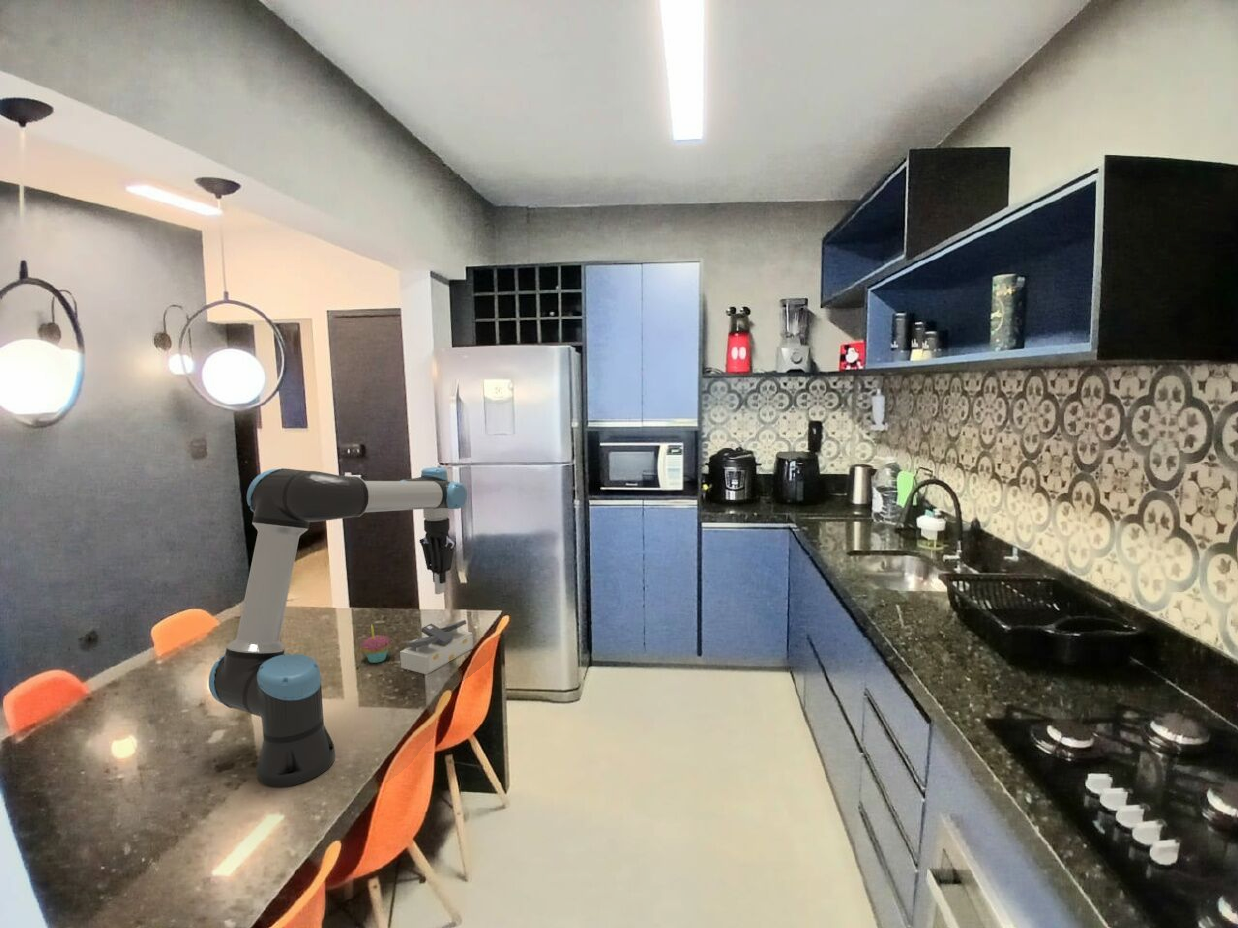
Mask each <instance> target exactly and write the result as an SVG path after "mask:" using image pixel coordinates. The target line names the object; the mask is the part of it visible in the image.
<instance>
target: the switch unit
mask: <svg viewBox="0 0 1238 928" xmlns="http://www.w3.org/2000/svg"><path fill="white" fill-rule="evenodd" d="M446 633H448V634H449V635H451V636H453V640H452V641H450V642H448V643H446V644H445V645H442V644H440V643H439V642H437V641H435V642H433V643H431V644H429V645H423V646H416V647H409V648H407V647H406V648H404V649H403V650H400V651H399V653H400V654H399V655H400V656H399V657H400V668H401V669H405V670H408V671H413V672H416V673H420V674H424V675H428V674H430V673H432V672H434V671H436V670H438V669H439V668H441V667H443V666H445V665H446V664H447V663H449V662H451V661H453V660H455V659H457V658H458V657H460V656H462V655H464V654H465V653H467V652H469V651H471V650H472V649H474V638H473V637H474V636H473V635H474V634H473V632H470V631H466V630H461V629H458V628H456V629H453V630H450V631H446Z"/></svg>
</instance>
